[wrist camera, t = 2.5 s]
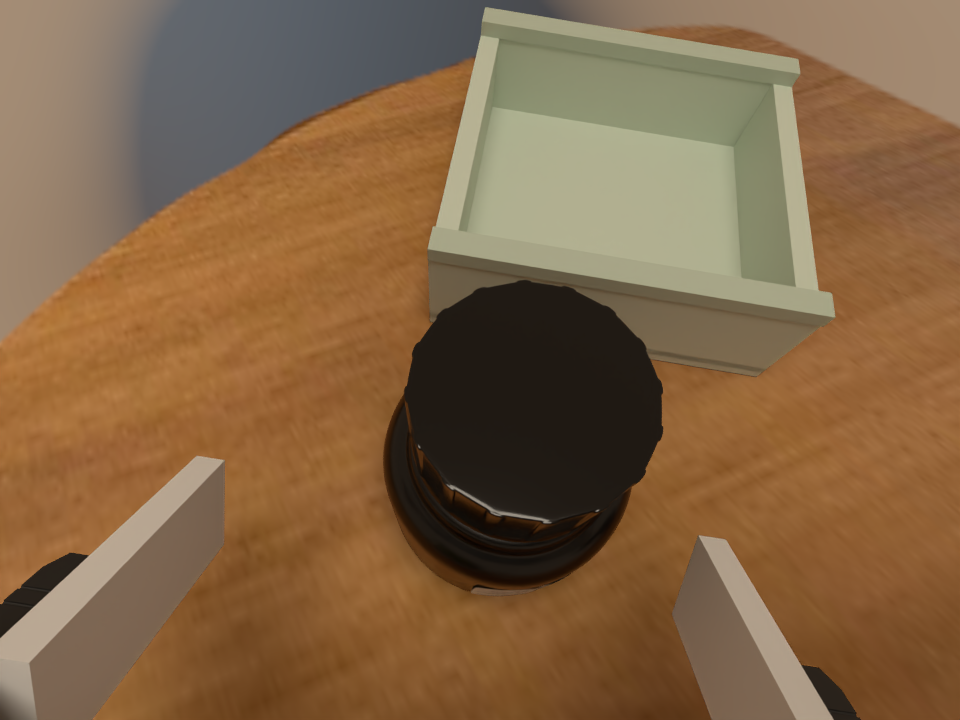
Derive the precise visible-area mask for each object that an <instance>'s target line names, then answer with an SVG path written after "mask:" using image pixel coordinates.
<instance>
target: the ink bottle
mask: <svg viewBox="0 0 960 720" xmlns="http://www.w3.org/2000/svg"><path fill="white" fill-rule="evenodd" d="M646 350H647V348H646V346H645V344H644V342H643V341H642V340H641V339H640V338H639V337H637V336H636V335H635V334H634V333H633V332H632V331H631V330H630V329H629V328H628V327H627V326H626V324H625V323H624V322H623V321H622V320H621V319H620V318H619V317H618V316H617V315H616V312H615V311H614V310H612V309H611V308H610V307H608V306H606V305H602V304H600V303H598V302H596V301H594V300H592V299H590V298H589V297H587V296H585V295H583V294H581V293H579V292H577V291H576V290H575V289H573V288H571V287H568V286H555V285H549V284H543V283H536V282H531V281H529V280H519V281H517V282H514V283H508V284H503V285H497V286H492V287H481V288H478V289H476V290H474V291H473V293H472V294H470V295H469V296H467V297H465V298H463V299H462V300H460V301H458V302H457V303H455V304H454V305H452V306H451V307H449V308H445V309H443V310H442V311H441V312H440V313H439V314H438V315H437V317H436V320H435V321H434V323H433V324H432V325H431V327H430V328H429V329H428V331H427V332H426V333H425V335H424V336H423V338H422V339H421V341H420V342H418V343H417V344H416V345H415V347H414V349H413V352H412V363H411V368H410V372H409V377H408V383H407V386H406V387H405V390H404V395H403V396H402V398H401V399H400V401H399V403H398V405H397V407H396V409H395V411H394V413H393V415H392V418H391V421H390V424H389V427H388V430H387V434H386V439H385V445H384V455H383V467H384V478H385V483H386V488H387V492H388V495H389V498H390V501H391V504H392V507H393V509H394V512H395V515H396V517H397V520H398V523H399V525H400V528H401V530H402V532H403V534H404V536H405V538H406V540H407V542H408V544H409V545H410V547H411V548H412V550H413V551H414V552H415V554H416V555H417V556H418V558H419V559H420V560H421V561H422V562H423V563H424V564H425V565H426V566H427V567H428V568H429V569H430V570H431V571H433V572H434V573H435V574H436V575H438V576H439V577H441V578H442V579H444V580H445V581H447V582H449V583H451V584H452V585H454V586H456V587H459V588H461V589H464V590H466V591H470V592H471V593H474V594H480V595H488V596H510V595H516V594H523V593H528V592H531V591H534V590H537V589H539V588H542V587H545V586H548V585H550V584H553V583H555V582H557V581H559V580H561V579H563V578H565V577H566V576H568V575H569V574H571V573H572V572H574V571H575V570H577V569H578V568H580V567H581V566H583V565H584V564H585V563H587V562H588V561H589V560H590V559H591V558H592V557H593V556H595V555H596V554H597V553H598V552H599V551H600V550H601V548H602V547H603V546H604V545H605V544H606V543H607V541H608V540H609V539H610V537H611V536H612V534H613V533H614V531H615V530H616V528H617V526H618V525H619V523H620V521H621V519H622V517H623V514H624V512H625V509H626V507H627V504H628V501H629V497H630V493H631V489H632V487H633V486H634V485H635V484H637V483H638V482H639V481H640V480H641V479H642V478H643V476H644V475H645V473H646V470H645V469H646V467H647V465H648V463H649V461H650V458H651V456H652V454H653V452H654V450H655V447H656V445H657V442H659V441H660V440H661V438H662V434H663V426H662V398H661V395H662V393H663V387H662V383H661V381H660V380H659V379H658V377H657V375H656V372H655V370H654V367H653V365H652V363H651V360H650V358H649V356H648V354H647V351H646ZM543 585H544V586H543ZM541 586H542V587H541Z"/></svg>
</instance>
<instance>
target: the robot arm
mask: <svg viewBox="0 0 960 720" xmlns="http://www.w3.org/2000/svg"><path fill="white" fill-rule="evenodd" d="M224 489H225V460H220V459H213V458H207V457H201V456H196V457H195V458H194V459H193V460H192V461H191V462H190V463H189V464H188V465H186V466H185V467H184V468H183V469H182V470H181V471H180V472H179V473H178V474H177V475H176V476H175V477H174V478H172V479H171V480H170V481H169V482H168V483H167V484H166V485H165V486H164V487H163V488H162V489H161V490H160V491H158V492H157V493H156V494H155V495H154V496H153V497H152V498H151V499H150V500H149V501H148V502H147V503H145V504H144V505H143V506H142V507H141V508H140V509H139V510H138V511H137V512H136V513H135V514H134V515H133V516H131V517H130V518H129V519H128V520H127V521H126V522H125V523H124V524H123V525H122V526H121V527H120V528H119V529H117V530H116V531H115V532H114V533H113V534H112V535H111V536H110V537H109V538H108V539H107V540H106V541H105V542H103V543H102V544H101V545H100V546H99V547H98V548H97V549H96V550H95V551H94V552H93V553H92V554H90V555H82V554H76V553H69V554H67V555H65V556H63V557H61V558H59V559H57V560H55V561H53V562H51V563H49V564H47V565H46V566H44V567H42V568H41V569H40V570H39V571H37V572H36V573H35V574H34V575H33V576H32V577H30V578H29V579H28V580H27V581H26V582H25V583H24V584H22V586H21V588H20V589H17V590H15V591H14V592H13V593H12V594H11V595H10V596H8V597H7V598H6V599H5V600H4V602H3V604H0V720H92V719H93V718H94V717H95V715H96V714H97V713H98V711H99V710H100V709H101V707H102V706H103V705H104V703H105V702H106V701H107V699H108V698H109V697H110V695H111V694H112V693H113V691H114V690H115V689H116V687H117V686H118V685H119V683H120V682H121V681H122V679H123V678H124V677H125V675H126V674H127V673H128V671H129V670H130V669H131V667H132V666H133V665H134V663H135V662H136V661H137V659H138V658H139V657H140V655H141V654H142V653H143V651H144V650H145V649H146V647H147V646H148V645H149V643H150V642H151V641H152V639H153V638H154V637H155V635H156V634H157V633H158V631H159V630H160V629H161V627H162V626H163V625H164V623H165V622H166V621H167V619H168V618H169V617H170V615H171V614H172V613H173V611H174V610H175V609H176V607H177V606H178V605H179V603H180V602H181V601H182V599H183V598H184V597H185V596H186V594H187V593H188V592H189V590H190V589H191V588H192V586H193V585H194V584H195V582H196V581H197V580H198V578H199V577H200V576H201V574H202V573H203V572H204V570H205V569H206V568H207V566H208V565H209V564H210V562H211V561H212V560H213V558H214V557H215V556H216V554H217V553H218V552H219V550H220V549H221V548H222V546H223V545H224ZM672 616H673V618H674V621H675V624H676V626H677V629H678V632H679V634H680V637H681V640H682V642H683V645H684V648H685V650H686V653H687V656H688V658H689V661H690V664H691V666H692V669H693V672H694V674H695V677H696V679H697V682H698V685H699V687H700V690H701V693H702V695H703V698H704V701H705V703H706V706H707V709H708V711H709V714H710V717H711V719H712V720H861V719H860V718H858V717H857V716H856V712H855V710H854V709H853V707H852V706H851V704H850V702H849V701H848V699H847V698H846V696H845V695H844V693H843V692H842V690H841V689H840V688H839V687H838V686H837V685H836V684H835V683H834V682H833V681H832V680H831V679H830V678H829V677H828V676H827V675H826V674H825V673H824V672H823V671H822V670H821V669H820V668H817V667H810V666H804V665H801V664H800V663H799V661H798V659H797V658H796V656H795V654H794V653H793V651H792V649H791V648H790V646H789V644H788V643H787V641H786V639H785V638H784V636H783V634H782V633H781V631H780V629H779V628H778V626H777V624H776V623H775V621H774V619H773V618H772V616H771V614H770V613H769V611H768V609H767V608H766V606H765V604H764V603H763V601H762V599H761V598H760V596H759V594H758V593H757V591H756V589H755V588H754V586H753V584H752V583H751V581H750V579H749V578H748V576H747V574H746V572H745V571H744V569H743V567H742V566H741V564H740V562H739V561H738V559H737V557H736V556H735V554H734V552H733V551H732V549H731V547H730V546H729V544H728V542H727V541H726V539H719V538H713V537H707V536H700V535H698V538H697V541H696V544H695V547H694V550H693V553H692V556H691V559H690V562H689V565H688V568H687V571H686V574H685V577H684V580H683V583H682V586H681V588H680V591H679V594H678V597H677V600H676V603H675V606H674V609H673V612H672Z"/></svg>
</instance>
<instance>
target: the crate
mask: <svg viewBox="0 0 960 720" xmlns="http://www.w3.org/2000/svg"><path fill="white" fill-rule="evenodd" d="M799 75H800V69H799V62H798V59H795V58H789V57H783V56H777V55H771V54H765V53H759V52H753V51H746V50H740V49H734V48H728V47H722V46H716V45H710V44H704V43H698V42H692V41H686V40H680V39H674V38H668V37H662V36H656V35H650V34H644V33H638V32H632V31H626V30H620V29H614V28H608V27H601V26H595V25H589V24H583V23H577V22H571V21H565V20H559V19H553V18H547V17H541V16H534V15H529V14H523V13H516V12H511V11H505V10H499V9H493V8H487V7H486V8H485V11H484V16H483V20H482V30H481V38H480V42H479V47H478V51H477V55H476V59H475V63H474V68H473V72H472V76H471V80H470V85H469V89H468V93H467V97H466V101H465V106H464V110H463V114H462V118H461V123H460V127H459V131H458V135H457V139H456V144H455V148H454V152H453V156H452V161H451V165H450V169H449V173H448V177H447V182H446V186H445V190H444V194H443V199H442V203H441V207H440V211H439V215H438V220H437V224H436V227H434V226H433V228H432V233H431V237H430V241H429V245H428V267H429V306H430V322H434V321H435V320H436V317H437V315H438V314H439V313H440V312H441V311H442V310H443V309H445V308H449V307H451V306H452V305H454V304H455V303H457V302H458V301H460V300H462V299H463V298H465V297H467V296H469V295H470V294H472V293H473V291H474V290H476V289H478V288H481V287H492V286H497V285H503V284H508V283H514V282H517V281H519V280H529V281H531V282H536V283H543V284H549V285H555V286H568V287H571V288H573V289H575V290H576V291H577V292H579V293H581V294H583V295H585V296H587V297H589V298H590V299H592V300H594V301H596V302H598V303H600V304H602V305H606V306H608V307H610V308H611V309H612V310H614V311H615V312H616V315H617V316H618V317H619V318H620V319H621V320H622V321H623V322H624V323H625V324H626V326H627V327H628V328H629V329H630V330H631V331H632V332H633V333H634V334H635V335H636V336H637V337H639V338H640V339H641V340H642V341H643V342H644V344H645V346H646V348H647V350H646V351H647V354H648V356H649V358H650V359H654V360H660V361H666V362H672V363H678V364H683V365H689V366H695V367H701V368H707V369H713V370H719V371H725V372H731V373H737V374H743V375H749V376H755V377H757V376H758V375H760V374H761V373H762V372H763V371H765V370H766V369H767V368H768V367H770V366H771V365H772V364H774V363H775V362H776V361H777V360H779V359H780V358H781V357H783V356H784V355H785V354H786V353H788V352H789V351H790V350H791V349H793V348H794V347H795V346H797V345H798V344H799V343H800V342H802V341H803V340H804V339H806V338H807V337H808V336H809V335H811V334H812V333H813V332H814V331H816V330H817V329H818V328H820V327H824V326H825V325H826V324H828V323H829V322H830V321H831V320H833V319H834V318H835V312H834V305H833V298H832V293H828V292H822V291H818V283H817V276H816V268H815V261H814V253H813V245H812V238H811V230H810V223H809V215H808V207H807V200H806V192H805V185H804V177H803V170H802V162H801V154H800V147H799V139H798V132H797V124H796V116H795V109H794V101H793V94H792V86H793V84H794V83H795V81H796V80H797V78H798V77H799Z"/></svg>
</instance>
